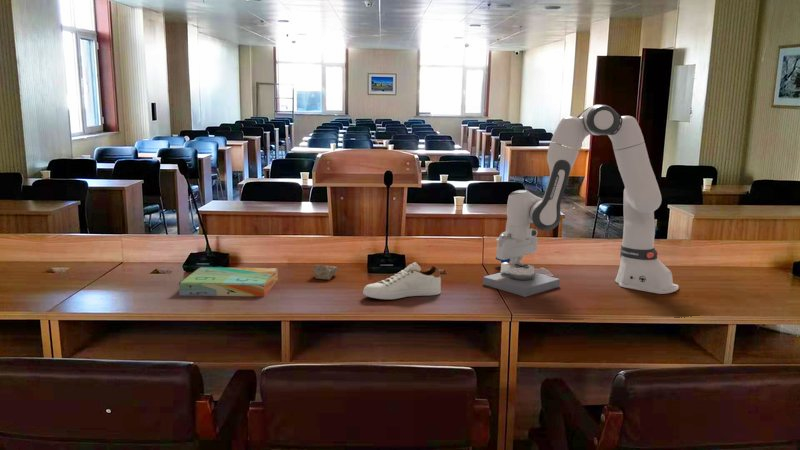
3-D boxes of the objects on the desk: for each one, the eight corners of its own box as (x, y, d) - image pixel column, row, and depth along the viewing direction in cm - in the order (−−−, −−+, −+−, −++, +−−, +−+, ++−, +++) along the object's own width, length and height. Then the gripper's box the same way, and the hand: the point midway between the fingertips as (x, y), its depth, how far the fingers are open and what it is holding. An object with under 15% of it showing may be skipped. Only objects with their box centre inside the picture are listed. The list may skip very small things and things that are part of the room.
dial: (538, 277, 234) (539, 265, 233) (523, 281, 228) (523, 269, 227) (510, 270, 244) (511, 259, 243) (495, 273, 238) (495, 262, 238)
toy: (517, 269, 258) (519, 233, 255) (496, 269, 258) (497, 233, 255) (514, 264, 266) (516, 229, 264) (493, 264, 267) (495, 229, 264)
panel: (559, 286, 234) (559, 277, 233) (525, 296, 221) (525, 287, 221) (517, 275, 249) (517, 266, 248) (482, 284, 236) (483, 275, 236)
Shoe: (358, 295, 222) (358, 262, 220) (432, 287, 232) (433, 255, 230) (368, 304, 213) (367, 269, 210) (444, 295, 223) (445, 262, 221)
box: (199, 266, 241) (277, 267, 240) (200, 279, 242) (277, 280, 241) (178, 282, 220) (263, 283, 219) (179, 296, 221) (264, 297, 220)
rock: (337, 274, 239) (324, 257, 238) (321, 287, 240) (307, 271, 240) (341, 267, 249) (328, 252, 248) (325, 280, 250) (312, 265, 250)
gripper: (505, 237, 231) (504, 273, 234) (540, 230, 244) (538, 264, 247) (492, 234, 236) (491, 269, 239) (527, 228, 249) (526, 261, 252)
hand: (515, 267), depth 243 cm, fingers closed
